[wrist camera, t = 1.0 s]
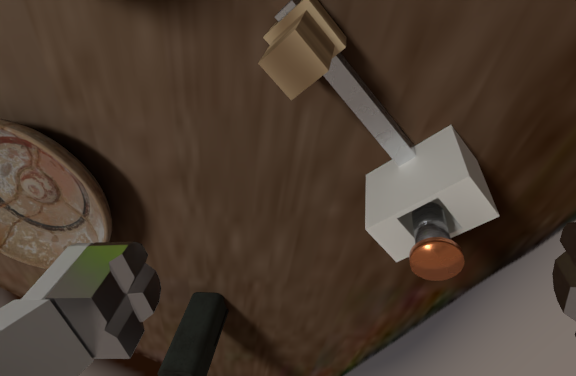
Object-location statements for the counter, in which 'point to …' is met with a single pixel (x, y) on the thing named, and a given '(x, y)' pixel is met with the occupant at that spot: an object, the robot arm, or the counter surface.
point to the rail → (364, 104)
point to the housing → (427, 192)
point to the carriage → (301, 47)
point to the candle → (196, 337)
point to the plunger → (434, 245)
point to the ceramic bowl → (46, 198)
